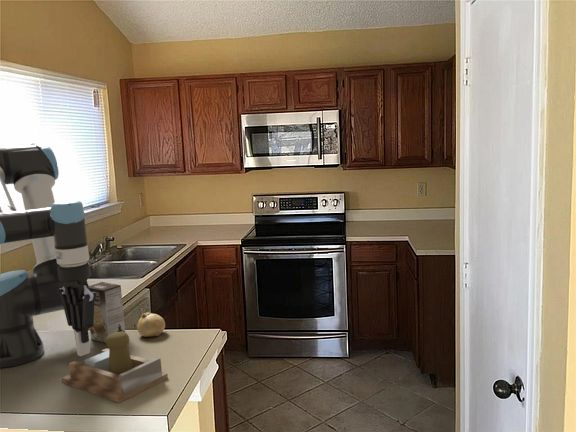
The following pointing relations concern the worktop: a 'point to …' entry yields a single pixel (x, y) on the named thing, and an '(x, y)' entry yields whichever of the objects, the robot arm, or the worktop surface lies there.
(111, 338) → the cork
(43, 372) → the worktop surface
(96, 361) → the block
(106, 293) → the coffee box
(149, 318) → the onion
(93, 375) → the rail board
